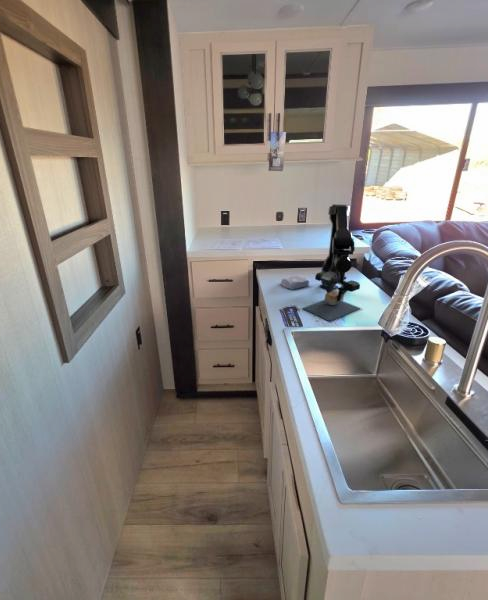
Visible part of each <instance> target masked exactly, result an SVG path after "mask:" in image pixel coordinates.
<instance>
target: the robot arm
mask: <svg viewBox="0 0 488 600" xmlns="http://www.w3.org/2000/svg"><path fill="white" fill-rule="evenodd" d="M350 209H351V207H350V206H348V205H347V204H331V205H330V206H329V207H328V211H327V212H328V214H327V215H329V221H330V223H331V231H330V240H329V249H328V255H327V257H326V258H325V259H324V262H323V263H322V266H321V269H320V270H321V271H320V272H317V273H316V274H315V277H314V279H315V280H316V281H319V282H320V283H321V284H320V285H319V287H320V288H322V289H325V290H326V293H328V292H331V291H334V290H336V289H337V291H339V294H338V302H339V301H340V300H341V299H342V297H343V296H344V297H345V295H346V293H347V292H349V293H352V292H355V291H358V290H360V288H361V284H360V282H358V281H355V280H352V279H351V280H348V281H346V280H347V276H346V273H348V272H349V271H350V270H351V269H352V267H353V265H352V262H351V260H350V257H349V255H350V256H351V255H354V252H355V240H354V238H353V234H352V232H351V231H350V230H349V226H348V225H349V223H348V222H349V221H348V216H350ZM337 285H340V287H339V286H337Z"/></svg>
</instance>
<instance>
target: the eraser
mask: <svg viewBox="0 0 488 600" xmlns="http://www.w3.org/2000/svg"><path fill="white" fill-rule="evenodd" d="M338 294H339V290H338V289H333V291H331V292H328V293H327V292H325V293H324V299H323V301H324V302H326V303H329V304H331V305H335V304H337V303H340V302H344V297H345V295H344V296H343V297H342V299H341V300H340V301H339V302H338Z"/></svg>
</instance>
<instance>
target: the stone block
mask: <svg viewBox="0 0 488 600" xmlns="http://www.w3.org/2000/svg"><path fill="white" fill-rule="evenodd" d="M280 285H281V286H282V287H284V288H286V289H289V290H296V289H301V288H305V287H309V285H310V281H309V279H307V278H305V277H303V276H300V275H299V276H298V275H294V276H290V277H288V278H287V277H286V278H281V281H280Z"/></svg>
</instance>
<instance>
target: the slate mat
mask: <svg viewBox="0 0 488 600" xmlns="http://www.w3.org/2000/svg"><path fill="white" fill-rule="evenodd" d="M302 310H304V311H306V312H307V313H310V314H312V315H315V316H317V317H318V318H321V319H323V320H325V321H328V322H332V321H335V320H337V319H339V318H342V317H344V316H347V315H349V314H351V313H354V312H356V311H359V310H361V308H360V307H358V306H355V305H353V304H351V303H348V302H346V301H343V302H340V303H337V304H335V305H331V304H329V303H326V302H324V300H321V301H319V302H316V303H314V304H311V305H308V306H305V307H302Z"/></svg>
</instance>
